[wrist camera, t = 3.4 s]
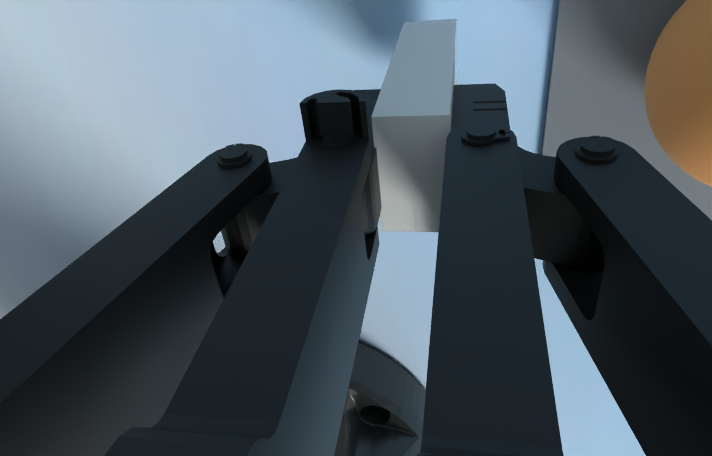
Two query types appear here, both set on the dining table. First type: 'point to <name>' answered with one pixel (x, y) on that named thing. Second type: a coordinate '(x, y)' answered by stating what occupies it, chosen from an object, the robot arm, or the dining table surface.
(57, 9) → the dining table surface
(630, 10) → the mat
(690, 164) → the ball
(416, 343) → the dining table surface
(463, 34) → the dining table surface
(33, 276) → the dining table surface
